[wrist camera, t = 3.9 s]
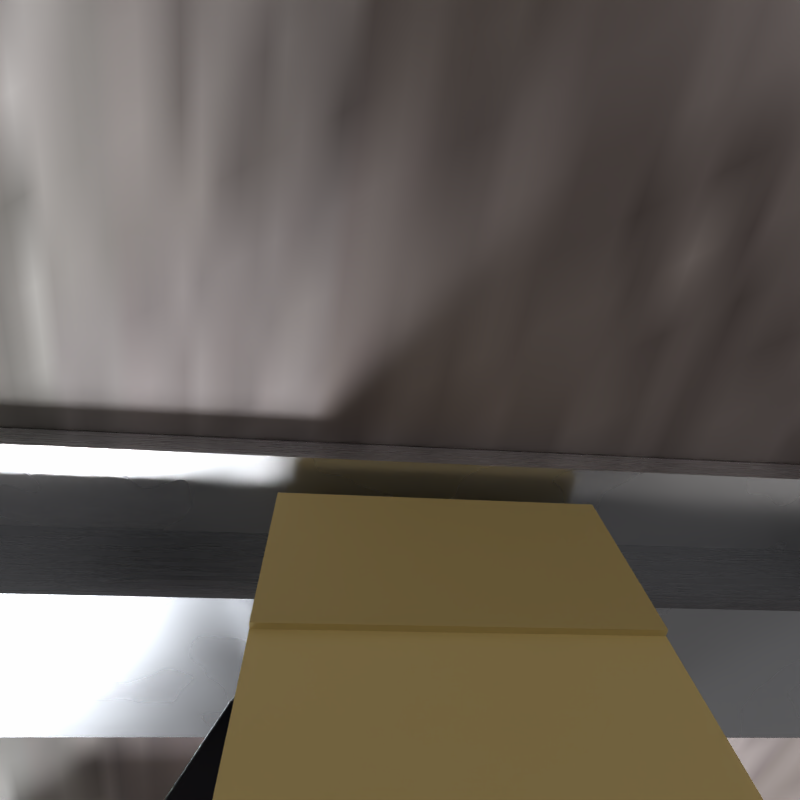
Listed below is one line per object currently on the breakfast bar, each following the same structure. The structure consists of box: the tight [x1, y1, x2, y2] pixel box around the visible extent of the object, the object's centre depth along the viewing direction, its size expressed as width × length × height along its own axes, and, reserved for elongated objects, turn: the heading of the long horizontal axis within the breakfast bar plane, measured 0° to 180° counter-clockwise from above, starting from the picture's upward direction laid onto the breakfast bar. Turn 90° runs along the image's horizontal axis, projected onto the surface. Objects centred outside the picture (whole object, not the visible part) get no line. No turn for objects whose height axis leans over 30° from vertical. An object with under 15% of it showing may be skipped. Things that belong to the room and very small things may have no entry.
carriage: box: [212, 492, 763, 800], centre depth 8 cm, size 5×5×5 cm
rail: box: [0, 428, 800, 738], centre depth 10 cm, size 22×6×2 cm, turn 85°
